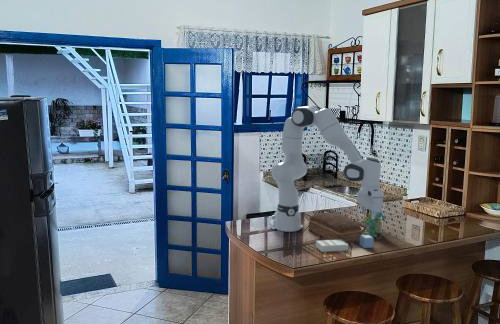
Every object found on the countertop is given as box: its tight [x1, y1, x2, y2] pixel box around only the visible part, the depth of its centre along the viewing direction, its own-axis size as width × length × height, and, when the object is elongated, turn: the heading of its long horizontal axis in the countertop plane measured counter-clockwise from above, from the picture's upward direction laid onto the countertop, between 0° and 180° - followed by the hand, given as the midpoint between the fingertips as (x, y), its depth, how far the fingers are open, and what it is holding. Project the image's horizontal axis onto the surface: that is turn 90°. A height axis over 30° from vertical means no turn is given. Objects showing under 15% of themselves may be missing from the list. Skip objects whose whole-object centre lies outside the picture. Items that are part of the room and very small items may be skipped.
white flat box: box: [315, 239, 349, 253], centre depth 225 cm, size 8×14×3 cm, turn 103°
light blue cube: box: [359, 234, 375, 249], centre depth 229 cm, size 5×5×5 cm
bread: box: [307, 212, 363, 244], centre depth 247 cm, size 17×29×11 cm, turn 27°
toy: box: [363, 210, 386, 238], centre depth 249 cm, size 10×10×15 cm
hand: (367, 216), depth 228 cm, fingers open, 8 cm apart
